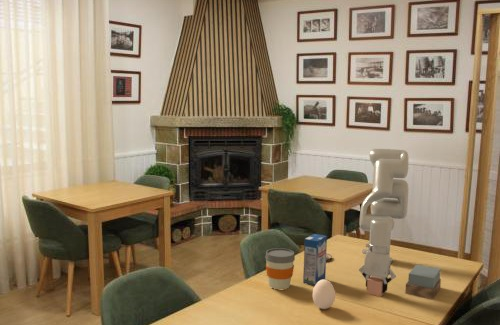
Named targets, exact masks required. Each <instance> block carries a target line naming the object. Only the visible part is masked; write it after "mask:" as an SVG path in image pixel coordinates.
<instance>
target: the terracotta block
mask: <svg viewBox="0 0 500 325" xmlns="http://www.w3.org/2000/svg"><path fill="white" fill-rule="evenodd" d="M383 283H384V281H383V278H380V277H375V276H370V278H369V279H368V280H367V287H366V294H368V295H372V296H377V297H382V296H383V295H384V294H385V293H382V288H383Z"/></svg>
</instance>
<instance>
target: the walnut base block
mask: <svg viewBox="0 0 500 325" xmlns="http://www.w3.org/2000/svg"><path fill="white" fill-rule="evenodd" d="M441 281H442V280H441V278H440V279H439V281H438V282H437V284H436V285H435V287H434V288H433V289H431V288H426V287H421V286H416V285H411V284H408V281H407V282H406V283H405V290H404V292H405V293H404V294H407V295H412V296H416V297H420V298H424V299H429V300H434V298H435V296H436V295H437V294H438V292H439V291H440V289H441Z"/></svg>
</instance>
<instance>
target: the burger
mask: <svg viewBox="0 0 500 325" xmlns="http://www.w3.org/2000/svg"><path fill="white" fill-rule="evenodd" d="M330 259H332V254H329V253H327V252H326V263H329V262H330Z"/></svg>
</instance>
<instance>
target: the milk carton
mask: <svg viewBox="0 0 500 325" xmlns="http://www.w3.org/2000/svg"><path fill="white" fill-rule="evenodd" d="M327 243H328V236H327V235H323V234H319V233H313V234H311V235H309V236H308V237H305V238H304V244H303V245H304V250H303V276H302V277H303V278H302V279H303V282H302V283H303V284H305V283H307V284H306V285H310V284H312V285H311V286H314V285H316V284H317V282H318V281H320V280H323V279H325V280H326V272H327V271H326V270H327V269H326V268H327V262H326V253H327V246H328V245H327Z"/></svg>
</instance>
